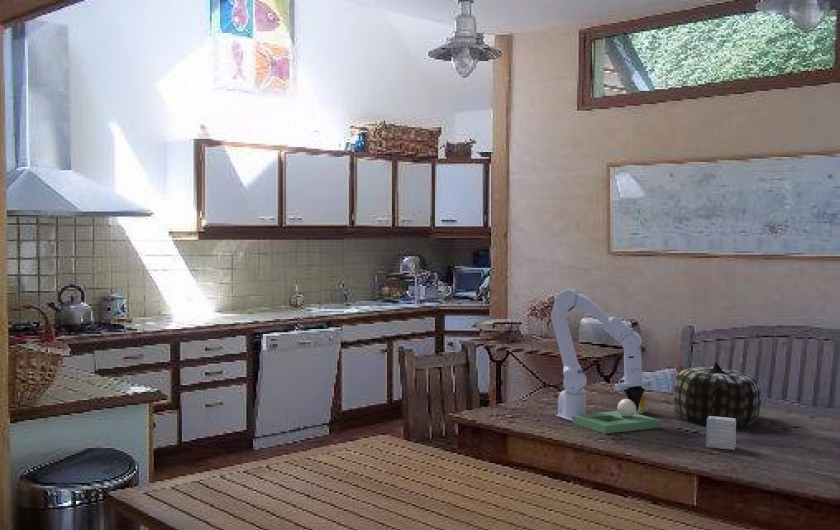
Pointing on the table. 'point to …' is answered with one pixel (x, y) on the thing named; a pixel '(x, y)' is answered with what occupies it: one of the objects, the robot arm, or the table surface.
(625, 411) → the white ball
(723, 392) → the decorative pumpkin
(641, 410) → the supplement bottle
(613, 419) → the putting board
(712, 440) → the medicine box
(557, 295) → the robot arm
